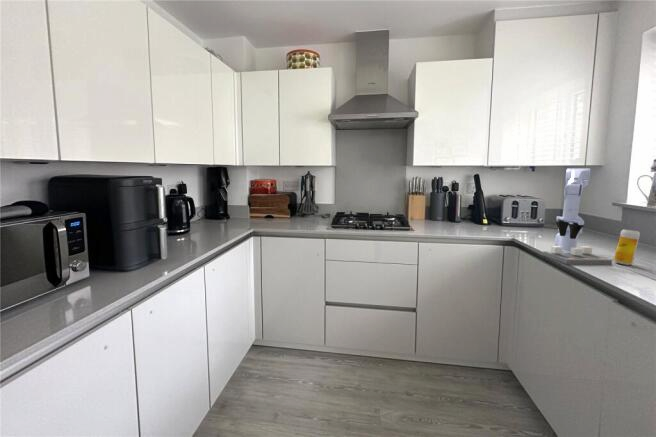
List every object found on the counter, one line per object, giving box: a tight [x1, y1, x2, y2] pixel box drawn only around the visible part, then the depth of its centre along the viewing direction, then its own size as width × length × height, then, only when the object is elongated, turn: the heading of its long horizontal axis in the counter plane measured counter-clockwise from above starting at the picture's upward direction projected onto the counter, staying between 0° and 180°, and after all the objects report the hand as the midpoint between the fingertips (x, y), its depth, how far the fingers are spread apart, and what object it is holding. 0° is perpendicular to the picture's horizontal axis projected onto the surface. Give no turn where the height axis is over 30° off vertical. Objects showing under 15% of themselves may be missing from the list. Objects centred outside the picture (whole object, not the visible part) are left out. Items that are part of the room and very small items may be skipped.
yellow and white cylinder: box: [613, 228, 641, 266], centre depth 136 cm, size 6×6×15 cm
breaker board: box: [542, 250, 613, 266], centre depth 143 cm, size 15×20×2 cm
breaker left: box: [550, 245, 563, 254], centre depth 146 cm, size 2×4×3 cm, turn 90°
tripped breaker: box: [570, 247, 583, 255], centre depth 143 cm, size 2×4×3 cm, turn 90°
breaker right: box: [579, 245, 593, 254], centre depth 146 cm, size 2×4×3 cm, turn 90°
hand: (567, 237), depth 148 cm, fingers open, 6 cm apart
